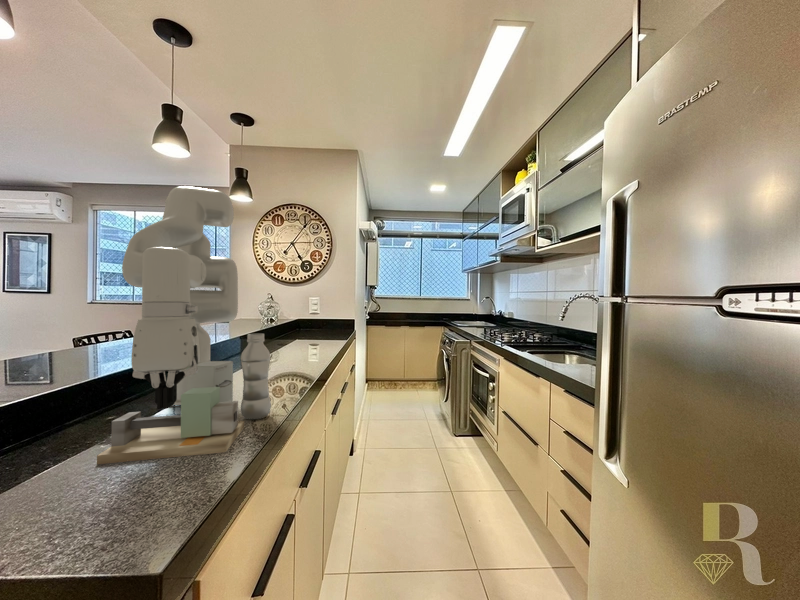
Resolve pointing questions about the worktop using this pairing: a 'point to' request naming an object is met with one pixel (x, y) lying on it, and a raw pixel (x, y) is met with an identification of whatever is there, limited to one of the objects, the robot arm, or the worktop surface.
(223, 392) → the supplement box
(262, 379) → the plastic bottle
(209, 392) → the pale green block
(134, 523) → the worktop surface
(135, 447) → the cable board
